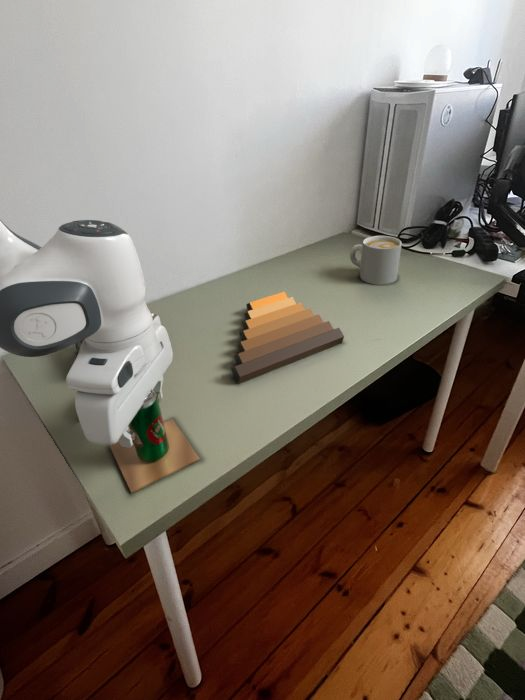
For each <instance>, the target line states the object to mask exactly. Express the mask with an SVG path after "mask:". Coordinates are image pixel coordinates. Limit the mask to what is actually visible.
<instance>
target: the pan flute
mask: <svg viewBox="0 0 525 700" xmlns="http://www.w3.org/2000/svg"><path fill="white" fill-rule="evenodd" d="M245 306H246V310H247V311H245V312H244V313H243V314H244V318H245V320H244V321H242V322H241V324H242V329H243V330H242V331H240V332H239V336H240V340H241V341H239V342H237V343H236V345H237V348H238V352H239V353H235V354H234V359H235V363H236V365H234V366H232V367H231V371H232V377H233V379H234V380H235V381H236V382H237V383H238V384H242V383H245V382H247V381H250V380H253V379H255V378H258V377H260V376H263V375H265V374H268V373H270V372H273V371H275V370H278V369H281V368H283V367H285V366H288V365H290V364H293V363H296V362H298V361H301V360H303V359H307V358H308V357H311V356H313V355H316V354H318V353H321V352H323V351H326V350H328V349H331V348H334V347H336V346H339V345H341V344H342V343H343V341H344V338H345V335H344V333H343V332H342V330H341V328H340V327H337V328H334V327H333V325H332V324H331V322H330V320H327V321H323V319H322V317H321V315H320V314H319V313H318V314H316V315H314V313H313V311H312V310H311V308H310V307H308V308H305V307H304V306H303V303H302V302H301V301H300V302H298V303H296V300H295V299H294V297H293V296H291V297H288V295H287V294H286V292H285V291H282V292H278V293H275V294H272V295H269V296H265V297H263V298H259V299H255V300H253V301H250V302H248V303H246V304H245Z"/></svg>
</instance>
